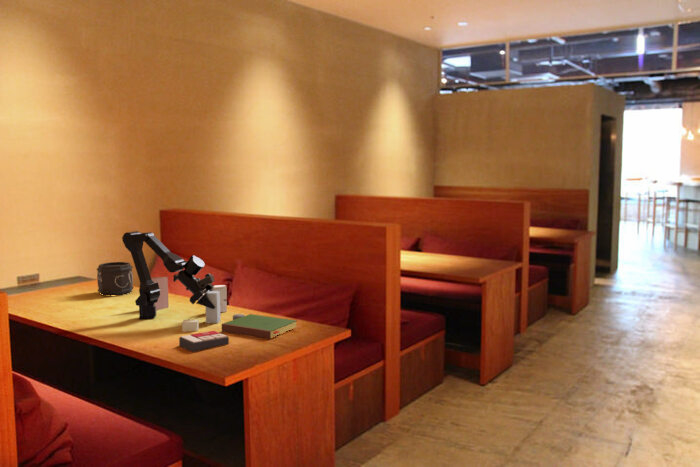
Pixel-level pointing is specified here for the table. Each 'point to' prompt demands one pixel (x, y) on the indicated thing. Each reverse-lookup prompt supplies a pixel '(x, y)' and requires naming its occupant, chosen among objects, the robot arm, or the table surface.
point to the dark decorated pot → (115, 278)
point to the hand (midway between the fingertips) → (216, 306)
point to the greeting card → (162, 292)
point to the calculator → (203, 340)
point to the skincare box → (222, 297)
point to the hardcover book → (258, 326)
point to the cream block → (190, 325)
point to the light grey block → (214, 314)
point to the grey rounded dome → (237, 316)
